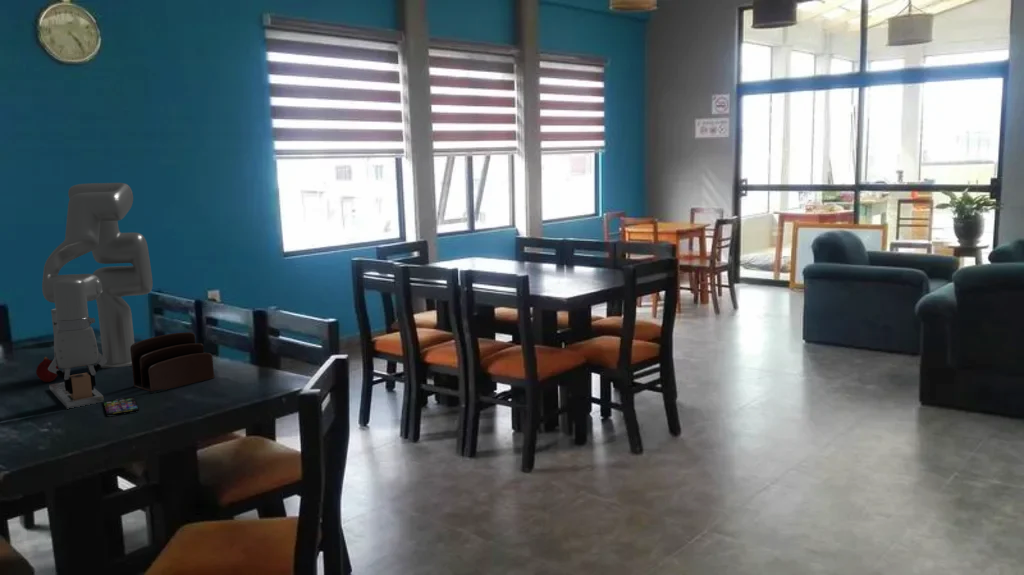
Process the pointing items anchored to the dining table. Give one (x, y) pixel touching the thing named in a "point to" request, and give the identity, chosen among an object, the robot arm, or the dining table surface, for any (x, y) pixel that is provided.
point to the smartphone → (121, 406)
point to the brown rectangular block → (81, 386)
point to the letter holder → (170, 362)
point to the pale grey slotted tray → (66, 399)
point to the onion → (45, 371)
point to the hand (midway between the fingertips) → (80, 390)
